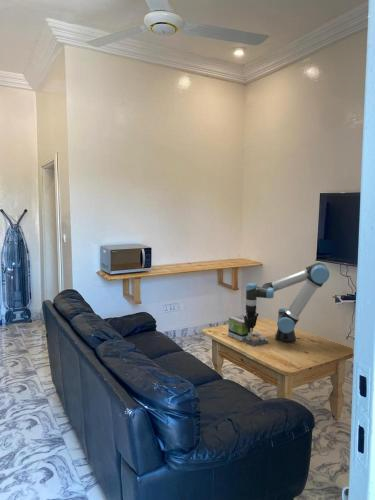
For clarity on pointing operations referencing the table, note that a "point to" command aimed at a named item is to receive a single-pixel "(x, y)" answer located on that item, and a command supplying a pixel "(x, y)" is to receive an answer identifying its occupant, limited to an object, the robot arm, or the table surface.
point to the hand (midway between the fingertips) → (250, 336)
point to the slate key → (255, 334)
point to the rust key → (255, 339)
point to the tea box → (237, 328)
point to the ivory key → (261, 338)
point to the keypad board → (255, 343)
